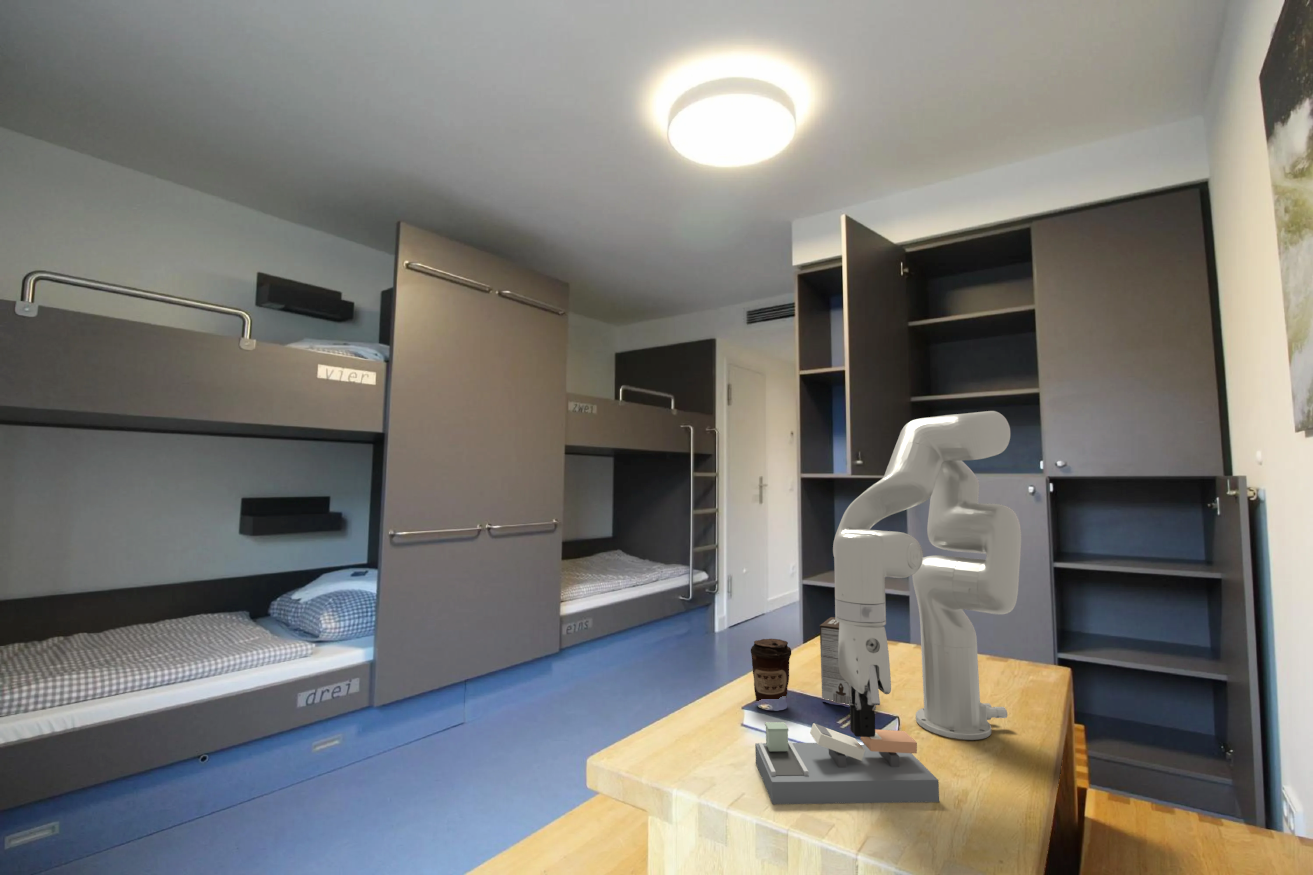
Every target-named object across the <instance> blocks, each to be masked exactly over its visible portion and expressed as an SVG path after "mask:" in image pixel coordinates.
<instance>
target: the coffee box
mask: <svg viewBox="0 0 1313 875" xmlns="http://www.w3.org/2000/svg"><path fill="white" fill-rule="evenodd" d="M819 638H820V639H819V642H820V645H819V646H820V672H821V676H820V677H821V699H822V698H824V699H829V700H833V701H835V702H838V703H845V704H849V705H853V704H850V701H849V688H848V684H847V682H846V680H845V679H844V678H843V677H842V676H841V674H840V672H839V661H838V641H839V622H838V621H837V620H835V616H831V617H829V618H827V619H826V620H825V621H824V622H822V623H821V624H819Z"/></svg>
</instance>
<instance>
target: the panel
mask: <svg viewBox="0 0 1313 875" xmlns="http://www.w3.org/2000/svg"><path fill="white" fill-rule="evenodd" d="M754 745H755V748H754V749H755V764H756V767H757V769H758V773H759V774H760V776H761V779H762V782H763V784H764V786H765V789H766V791H767V794H768V797H769V799H770V802H771V805H806V804H807V805H811V804H816V805H817V804H818V805H822V804H887V803H888V804H889V803H894V804H898V803H903V804H904V803H940V788H939V784H940V783H939V779H938V778H937V777H936V776H935V775H934V774H933V773H932V772H931V771H930V770H929V769H928V768H927V767H926V766H925V765H924V764H923V763H922V762H921V761H920V760H919V758H917V757H916V756H915V755H914V753H896V752H875V751H870V750H869V748H868V747H867V746H866V745H865V744H864V745H861V746H862V747H863V749H864V750H865V752H864V755H863V758H862V761H861V760H858V759H856V758H853V757H850V756H847V755H845V754H842V753H839V752H837V751H834V750H831V749H828V748H826V747H823V746H820V745H818V744H817V743H816V742H792V741H791V742H789V741H788V751H769V749H768V747H767V745H766V742H765V743H764V742H757V743H755V744H754Z"/></svg>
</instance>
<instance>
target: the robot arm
mask: <svg viewBox="0 0 1313 875" xmlns="http://www.w3.org/2000/svg"><path fill="white" fill-rule="evenodd" d="M897 438H898V439H897V441H896V444H895V446H894V449H893V451H892V454H891V457H890V459H889V462H888V465H887V467H886V470H885V473H884V475H883V477H882V478H881V479H880V480H878V481H877V482H875V483H873V484H872V485H871V486H869V487H868V488H866V490H864V491H863V492H862V493H861V494H860V495H859V496H857V497H856V498H855V499H854V500H853V501H852V502H851V503H850V504H849V505H848V507H847V508H846V509H845V511H844V513H843V515H842V517H841V520H840V522H839V525H838V527H837V530H836V533H835V535H834V540H833V543H832V544H833V545H832V546H833V547H832V554H833V555H832V556H833V557H834V558H833V561H834V562H833V563H834V566H833V567H834V605H835V606H834V614H835V615H834V617H835V620H837V621H838V622H839V641H838V661H839V672H840V674H841V676H842V677H843V678H844V679H845V680H846V682H847V684H848V688H849V701H850V704H853V705H850V708H849V721H850V723H849V724H850V725H849V728H850V732H852V734H853V735H854V736H855V737H857V738H858V737H860V738H861V737H874V736H875V729H876V708H877V706H880V704H881V699H880V698H881V697H880V692H882V693H883V694H884V695H890V694H891V692H892V681H891V666H890V665H891V663H890V652H889V645H888V638H887V632H886V627H885V626H886V625H887V617H886V616H887V612H886V611H887V610H886V609H887V606H886V578H895V579H896V578H897V579H905V578H908V577H911V576H912V584H913V588H914V592H915V596H916V601H917V608H918V612H919V613H918V615H919V624H920V625H919V628H920V644H921V645H920V647H921V648H920V649H921V668H922V670H921V671H922V672H921V673H922V688H923V689H922V690H923V691H922V692H923V708H920V709H918V710H917V711H916V712H915V721H916V722H917V724H919V726H920V727H921V728H923V729H925V730H927V731H929V732H931V733H934V734H935V735H939V736H941V737H942V736H943V737H946V738H950V739H956V740H963V741H964V740H966V741H974V740H975V741H977V740H985V739H986V738H989V736H991V734H992V726H991V724H990V722H989V721H990V720H991V719H992V718H994V719H1007V718H1008V711H1007V709H1006V707H1005V706H992V705H991V703H989V702H988V703H984V702H982V701H981V693H980V692H981V691H980V680H979V679H980V676H979V658H978V638H977V632H976V629H975V627H974V624H973V623H972V621H971V620H970V617H968V615H967V614H966V613H965V611H964V610H966V611H973V612H980V613H987V614H992V615H1005V614H1006V615H1007V614H1009V613H1010V612H1012V611H1013V610H1014V608H1015V606H1016V604H1017V600H1018V596H1019V595H1018V594H1019V584H1020V581H1019V579H1020V564H1021V549H1022V548H1021V546H1022V530H1021V524H1020V520H1019V518H1018V515H1017V513H1016V512H1015V511H1014V510H1013V509H1012V508H1010V507H1009V506H1007V505H1004V504H999V503H980V502H979V496H980V494H979V492H980V482H979V479H978V477H977V476H976V474H975V473H974V471H972V469H971V468H970V467H969V466H968V465H967V464H966V463H965V462H964V461H974V460H975V461H976V460H983V459H984V460H985V459H987V458H990V457H994V456H998V455H999V454H1002V453H1003V452H1005V450H1006V449H1007V447H1008V446H1009V443H1010V442H1011V440H1010V439H1011V427H1010V424H1009V422H1008V420H1007V418H1006V417H1005V416H1004V415H1003V414H1001V413H1000V412H998V411H996V410H988V411H987V410H986V411H985V410H984V411H978V412H977V411H975V412H968V413H958V414H957V413H956V414H945V415H937V416H930V417H929V416H928V417H921V418H916V419H915V418H914V419H912V420H910V421H909V422H907V423H906V424H905V425H904V426H903V428H902V429H901V430H900V432H899V436H898V437H897ZM929 499H930V500H929ZM928 500H929V507H928V518H927V530H926V531H927V532H926V533H927V538H928V541H929V543H930V544H931V545H932V546H933V547H935V548H937V549H940V550H944V551H950V552H958V553H959V552H960V553H961V552H962V553H972V554H973V553H975V554H981V555H982V554H985V555H986V557H985V559H983V558H971V557H963V556H962V557H961V556H953V555H952V556H951V555H937V554H936V555H927V556H924V553H923V549H922V546H921V544H920V542H919V541H918V540H917V539H916V538H915V537H914V536H912V535H911V534H908V533H905V532H903V531H902V532H900V531H894V530H893V531H891V530H889V531H888V530H877V529H872V527H873V526H875V525H876V524H877V523H879V522H880V521H882V520H883V519H886V518H887V517H890V516H891V515H894V514H898V513H900V512H903V511H905V510H908V509H911V508H913V507H916V506H919V505H921V504H923V503H925V502H927V501H928Z"/></svg>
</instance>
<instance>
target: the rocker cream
mask: <svg viewBox="0 0 1313 875" xmlns="http://www.w3.org/2000/svg"><path fill="white" fill-rule="evenodd" d="M809 733H810V735H811V737H812V738H813V739H814V741H815V743H817V744H818V745H820V746H823V747H826V748H828V749H831V750H834V751H837V752H839V753H842V754H845V755H847V756H850V757H853V758H856V759H858V760H861V761H862V758H863V755H864V752H865V750H864V749H863V747H862V746H861V745H860V744H859V743H858V742H859V741H858V740H857V739H856V738H855V737H852V736H850V735H847V734H844V733H841V732H838V731H836V730H833V729H830V728H828V727H825V726H823V725H821V724H818V723H812V725H811V729H810V732H809Z"/></svg>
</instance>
